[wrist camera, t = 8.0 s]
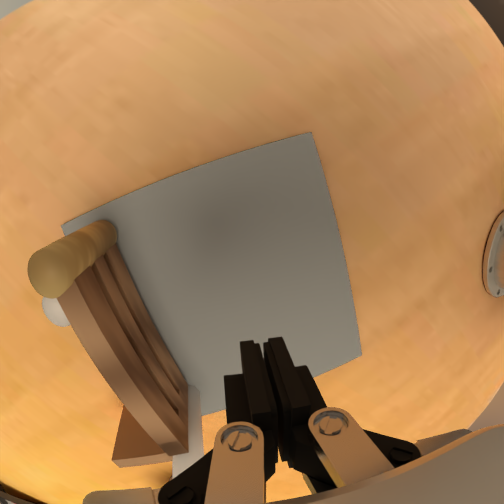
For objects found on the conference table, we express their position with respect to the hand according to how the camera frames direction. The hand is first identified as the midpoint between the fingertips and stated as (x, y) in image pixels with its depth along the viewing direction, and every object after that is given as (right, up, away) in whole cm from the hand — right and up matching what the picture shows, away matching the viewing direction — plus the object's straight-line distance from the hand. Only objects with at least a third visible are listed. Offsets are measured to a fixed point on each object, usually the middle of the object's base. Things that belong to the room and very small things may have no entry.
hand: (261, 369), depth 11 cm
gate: (-9, 0, +11) cm, 14 cm away
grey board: (-4, 0, +13) cm, 13 cm away
